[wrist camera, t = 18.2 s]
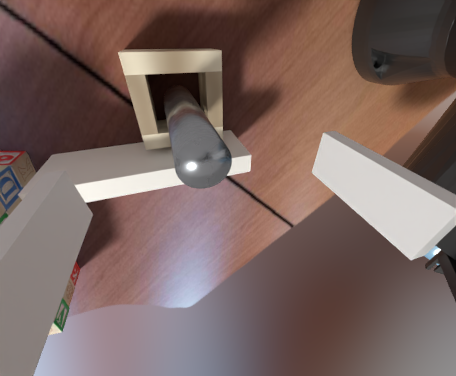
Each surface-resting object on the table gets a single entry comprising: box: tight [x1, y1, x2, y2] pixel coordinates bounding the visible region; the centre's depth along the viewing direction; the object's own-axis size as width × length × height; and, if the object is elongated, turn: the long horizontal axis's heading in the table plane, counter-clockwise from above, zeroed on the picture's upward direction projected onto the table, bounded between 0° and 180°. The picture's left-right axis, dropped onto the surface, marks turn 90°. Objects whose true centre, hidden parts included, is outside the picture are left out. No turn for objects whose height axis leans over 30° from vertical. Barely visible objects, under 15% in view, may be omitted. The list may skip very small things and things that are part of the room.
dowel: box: [163, 85, 232, 188], centre depth 16 cm, size 3×3×14 cm
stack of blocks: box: [0, 151, 80, 335], centre depth 20 cm, size 21×6×12 cm, turn 170°
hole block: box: [118, 48, 223, 150], centre depth 19 cm, size 8×8×4 cm
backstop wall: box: [18, 130, 251, 203], centre depth 21 cm, size 20×2×7 cm, turn 91°
